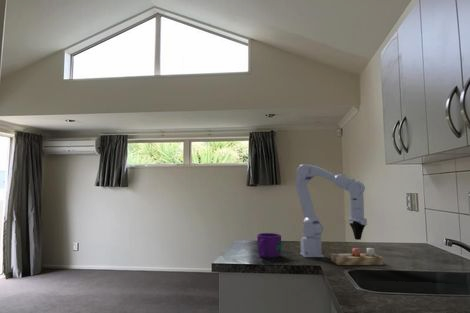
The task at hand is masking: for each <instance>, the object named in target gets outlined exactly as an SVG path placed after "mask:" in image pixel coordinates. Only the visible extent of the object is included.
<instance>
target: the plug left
mask: <svg viewBox="0 0 470 313" xmlns="http://www.w3.org/2000/svg"><path fill="white" fill-rule="evenodd" d="M337 254H338V256H339V257H346V254H347V253H337Z"/></svg>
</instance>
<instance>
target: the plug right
mask: <svg viewBox="0 0 470 313" xmlns="http://www.w3.org/2000/svg"><path fill="white" fill-rule="evenodd" d="M366 254H367V256H369V257H374V256H375V255H374V254H375V248H373V247H366Z"/></svg>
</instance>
